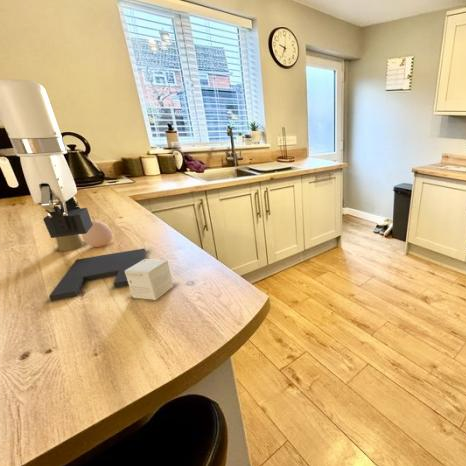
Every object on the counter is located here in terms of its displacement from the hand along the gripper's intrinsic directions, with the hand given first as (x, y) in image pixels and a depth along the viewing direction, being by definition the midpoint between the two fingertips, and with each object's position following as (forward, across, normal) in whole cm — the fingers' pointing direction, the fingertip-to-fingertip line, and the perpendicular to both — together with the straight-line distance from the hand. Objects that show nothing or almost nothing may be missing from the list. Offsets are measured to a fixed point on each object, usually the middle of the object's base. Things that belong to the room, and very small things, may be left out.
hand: (71, 227), depth 66 cm
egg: (+15, -26, -3) cm, 31 cm away
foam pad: (+1, 0, 0) cm, 1 cm away
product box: (+15, +12, +14) cm, 24 cm away
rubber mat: (+15, -4, +2) cm, 16 cm away
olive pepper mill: (+15, -30, -11) cm, 35 cm away
